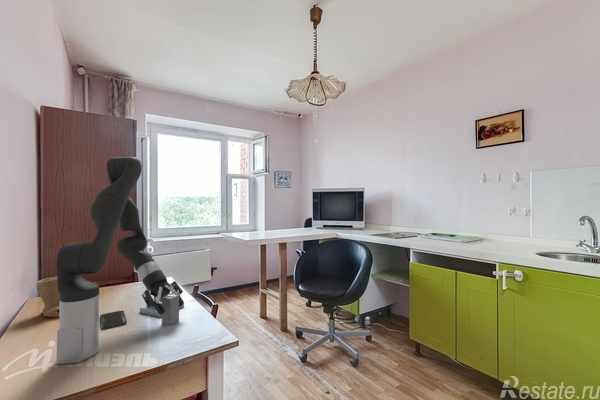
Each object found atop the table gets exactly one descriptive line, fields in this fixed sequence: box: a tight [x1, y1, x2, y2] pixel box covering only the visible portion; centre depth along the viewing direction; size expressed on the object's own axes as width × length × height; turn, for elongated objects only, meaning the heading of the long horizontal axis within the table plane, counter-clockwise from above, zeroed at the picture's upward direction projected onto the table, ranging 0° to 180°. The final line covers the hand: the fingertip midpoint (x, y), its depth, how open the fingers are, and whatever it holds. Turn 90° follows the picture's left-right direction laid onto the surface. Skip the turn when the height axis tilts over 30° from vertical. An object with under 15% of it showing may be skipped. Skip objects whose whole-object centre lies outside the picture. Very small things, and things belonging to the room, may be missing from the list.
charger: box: [161, 294, 180, 327], centre depth 103 cm, size 4×4×10 cm
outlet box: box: [139, 297, 185, 318], centre depth 116 cm, size 12×12×4 cm
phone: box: [99, 310, 128, 331], centre depth 105 cm, size 8×1×15 cm
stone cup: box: [36, 275, 60, 318], centre depth 113 cm, size 15×12×15 cm
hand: (172, 309), depth 102 cm, fingers open, 8 cm apart
